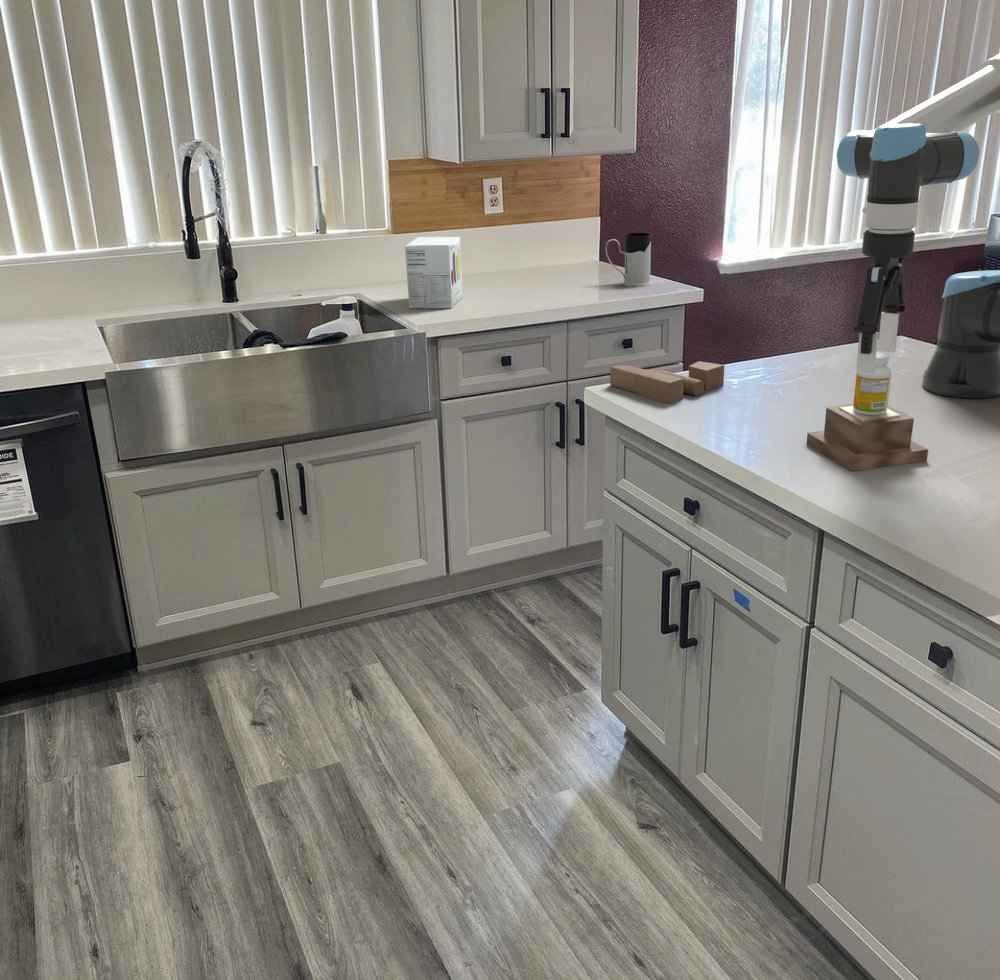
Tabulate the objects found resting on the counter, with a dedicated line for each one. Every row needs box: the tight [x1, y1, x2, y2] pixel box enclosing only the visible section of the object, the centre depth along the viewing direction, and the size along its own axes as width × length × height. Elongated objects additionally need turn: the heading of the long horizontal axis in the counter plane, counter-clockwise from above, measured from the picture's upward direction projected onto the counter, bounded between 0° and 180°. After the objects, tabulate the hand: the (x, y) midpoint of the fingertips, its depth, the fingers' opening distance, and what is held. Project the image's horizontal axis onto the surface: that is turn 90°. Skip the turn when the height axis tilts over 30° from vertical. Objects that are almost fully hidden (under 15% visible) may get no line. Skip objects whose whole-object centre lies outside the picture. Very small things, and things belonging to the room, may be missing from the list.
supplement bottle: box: [852, 351, 892, 415], centre depth 165 cm, size 5×5×10 cm
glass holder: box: [605, 232, 652, 288], centre depth 306 cm, size 9×14×15 cm, turn 84°
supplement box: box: [404, 236, 464, 309], centre depth 291 cm, size 17×13×18 cm
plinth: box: [806, 403, 929, 472], centre depth 168 cm, size 14×14×7 cm
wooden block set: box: [609, 361, 725, 404], centre depth 208 cm, size 17×6×18 cm
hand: (876, 361), depth 163 cm, fingers open, 13 cm apart
